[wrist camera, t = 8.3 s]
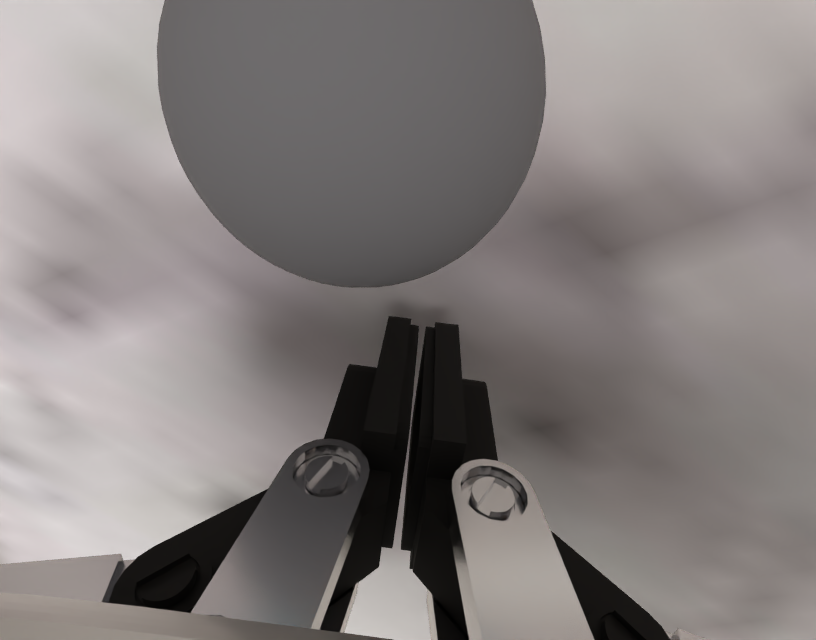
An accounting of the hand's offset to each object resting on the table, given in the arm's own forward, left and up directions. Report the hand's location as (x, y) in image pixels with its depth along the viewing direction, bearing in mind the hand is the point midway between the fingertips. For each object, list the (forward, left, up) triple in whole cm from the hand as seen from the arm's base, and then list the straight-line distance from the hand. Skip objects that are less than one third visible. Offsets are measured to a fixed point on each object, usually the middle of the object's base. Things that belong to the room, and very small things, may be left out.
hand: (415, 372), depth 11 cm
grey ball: (+6, +2, +1) cm, 6 cm away
